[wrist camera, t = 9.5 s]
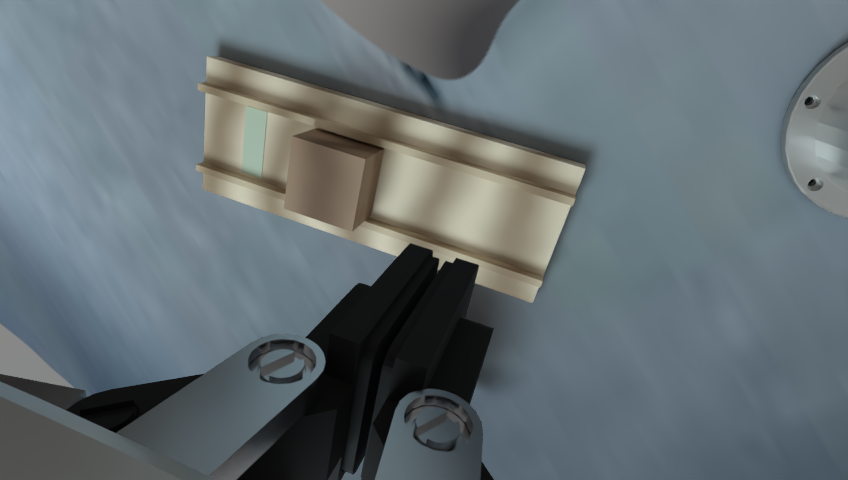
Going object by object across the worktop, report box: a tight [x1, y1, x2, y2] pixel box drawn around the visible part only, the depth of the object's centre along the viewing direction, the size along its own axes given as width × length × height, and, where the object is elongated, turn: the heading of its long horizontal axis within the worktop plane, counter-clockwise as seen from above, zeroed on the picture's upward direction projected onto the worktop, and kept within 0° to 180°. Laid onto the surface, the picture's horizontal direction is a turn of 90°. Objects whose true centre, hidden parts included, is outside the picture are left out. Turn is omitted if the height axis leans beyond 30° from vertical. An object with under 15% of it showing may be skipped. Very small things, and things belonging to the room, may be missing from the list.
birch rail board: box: [196, 56, 586, 303], centre depth 40 cm, size 32×12×2 cm, turn 77°
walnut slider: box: [284, 128, 384, 232], centre depth 38 cm, size 6×6×4 cm
